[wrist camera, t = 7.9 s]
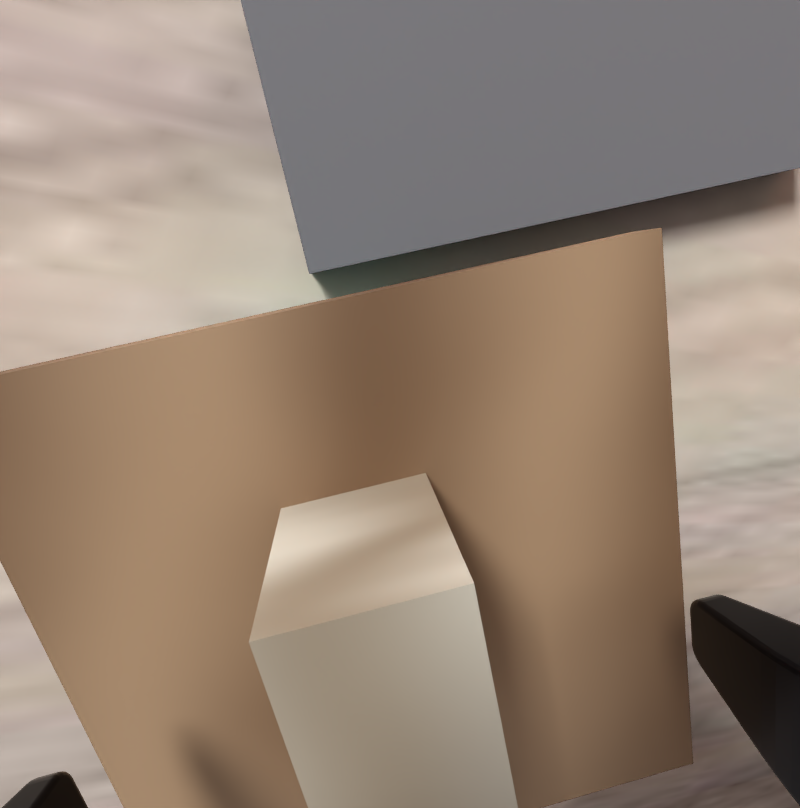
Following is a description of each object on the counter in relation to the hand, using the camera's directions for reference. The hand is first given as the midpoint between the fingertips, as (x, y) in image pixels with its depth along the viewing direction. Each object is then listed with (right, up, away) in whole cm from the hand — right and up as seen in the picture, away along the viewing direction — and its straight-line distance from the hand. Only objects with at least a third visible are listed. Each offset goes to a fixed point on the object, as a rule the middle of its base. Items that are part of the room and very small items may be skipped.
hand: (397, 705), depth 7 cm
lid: (0, +1, +2) cm, 3 cm away
